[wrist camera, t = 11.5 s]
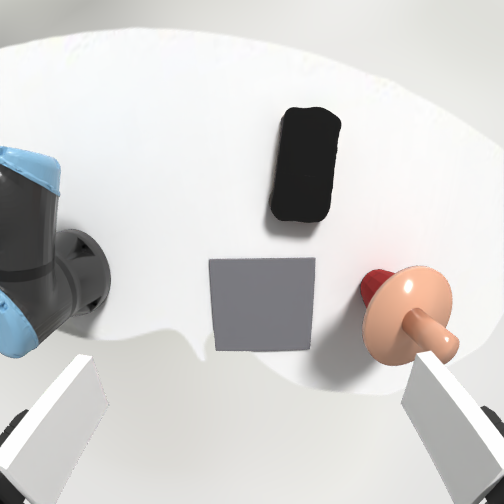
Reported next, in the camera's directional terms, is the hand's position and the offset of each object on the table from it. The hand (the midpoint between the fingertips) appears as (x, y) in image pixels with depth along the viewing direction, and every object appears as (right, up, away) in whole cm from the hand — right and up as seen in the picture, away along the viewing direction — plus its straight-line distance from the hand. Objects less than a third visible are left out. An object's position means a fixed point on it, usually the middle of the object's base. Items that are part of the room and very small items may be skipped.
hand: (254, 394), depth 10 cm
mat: (+2, -3, +36) cm, 37 cm away
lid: (+20, -3, +24) cm, 32 cm away
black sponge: (+7, +18, +32) cm, 37 cm away
